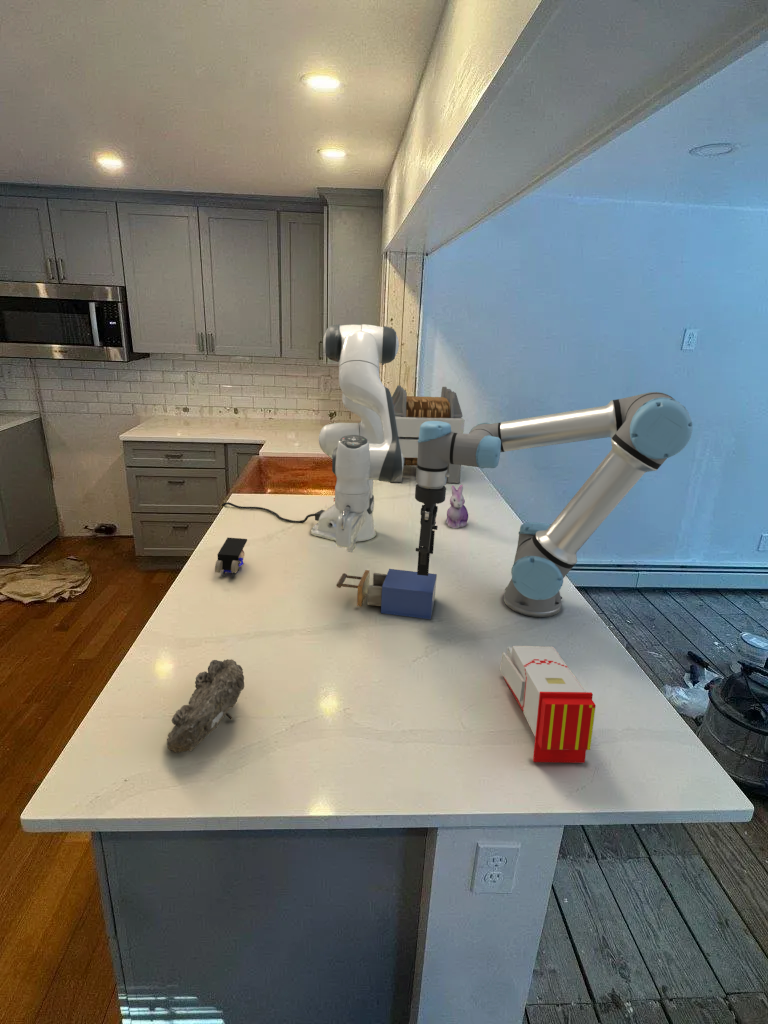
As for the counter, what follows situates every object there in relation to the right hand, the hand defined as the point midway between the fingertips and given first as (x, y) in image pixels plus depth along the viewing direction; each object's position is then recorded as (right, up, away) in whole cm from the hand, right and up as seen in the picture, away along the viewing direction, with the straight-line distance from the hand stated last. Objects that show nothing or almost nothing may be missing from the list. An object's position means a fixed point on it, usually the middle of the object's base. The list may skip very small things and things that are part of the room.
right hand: (425, 563), depth 147 cm
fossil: (-43, -26, -39) cm, 64 cm away
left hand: (-19, +3, +2) cm, 20 cm away
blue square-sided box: (-4, -12, +5) cm, 14 cm away
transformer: (+7, +32, +128) cm, 132 cm away
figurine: (+16, +9, +65) cm, 67 cm away
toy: (+20, -27, -33) cm, 47 cm away
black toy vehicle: (-56, -4, +21) cm, 60 cm away
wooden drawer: (-14, -10, +6) cm, 18 cm away
